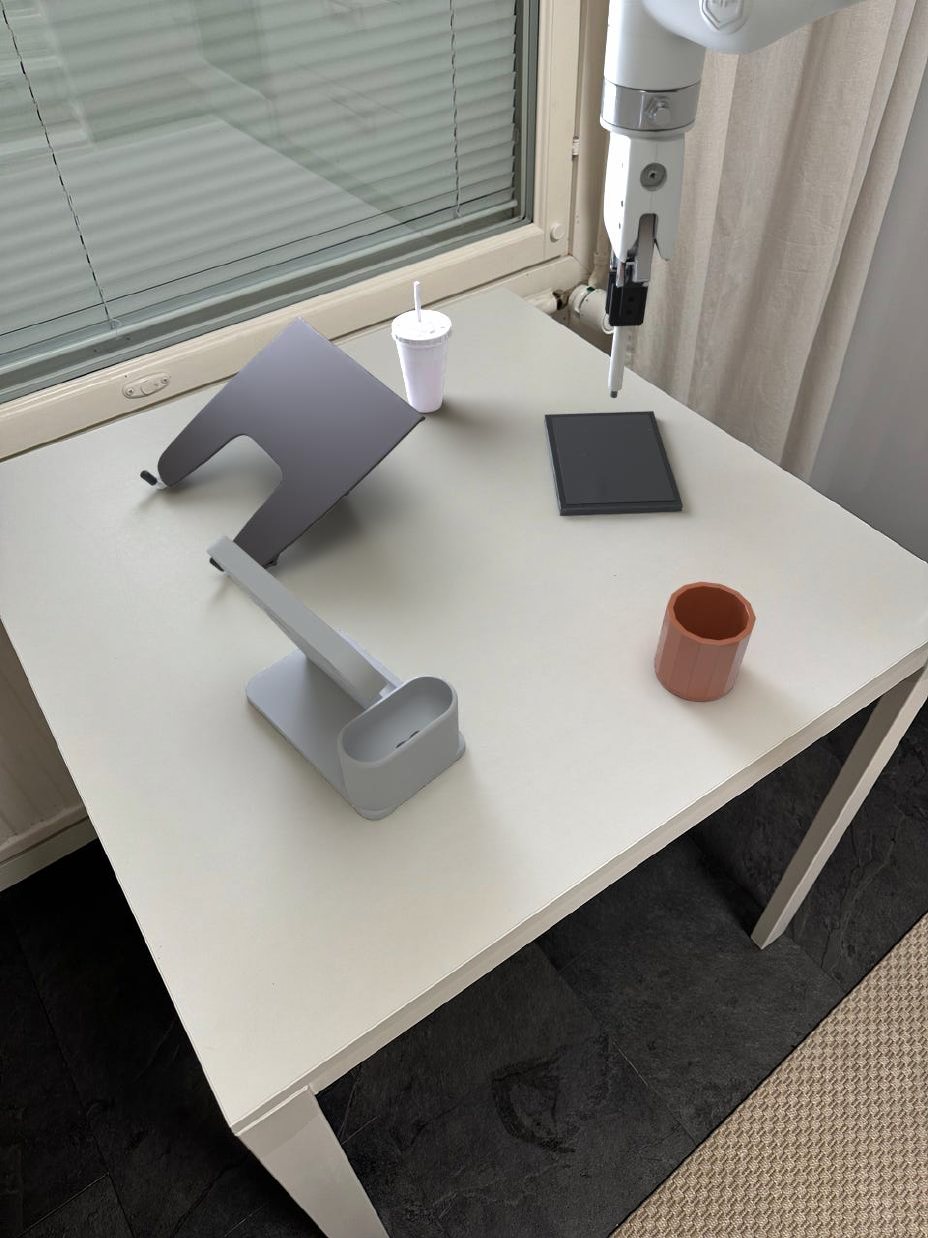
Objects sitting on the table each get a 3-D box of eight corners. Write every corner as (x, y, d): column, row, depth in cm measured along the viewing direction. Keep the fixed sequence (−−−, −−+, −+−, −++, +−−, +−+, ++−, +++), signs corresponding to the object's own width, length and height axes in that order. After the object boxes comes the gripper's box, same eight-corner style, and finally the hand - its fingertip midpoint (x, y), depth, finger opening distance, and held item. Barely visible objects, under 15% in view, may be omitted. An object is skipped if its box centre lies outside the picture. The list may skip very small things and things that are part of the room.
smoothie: (433, 381, 103) (428, 264, 93) (465, 406, 100) (463, 288, 90) (386, 399, 101) (376, 281, 91) (417, 426, 97) (410, 306, 87)
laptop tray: (182, 504, 98) (124, 457, 90) (331, 359, 99) (287, 300, 91) (284, 627, 85) (227, 585, 78) (455, 460, 86) (415, 402, 78)
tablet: (652, 416, 98) (653, 410, 98) (681, 511, 87) (683, 504, 87) (544, 420, 98) (544, 413, 97) (559, 515, 87) (560, 508, 86)
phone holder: (475, 750, 68) (475, 585, 55) (373, 832, 64) (347, 672, 51) (336, 629, 77) (308, 461, 64) (238, 693, 72) (185, 526, 59)
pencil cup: (724, 638, 76) (742, 579, 71) (744, 701, 71) (765, 643, 66) (647, 640, 76) (660, 582, 71) (662, 704, 71) (677, 646, 66)
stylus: (619, 392, 90) (636, 256, 80) (621, 399, 89) (638, 263, 79) (605, 392, 90) (620, 257, 80) (607, 400, 89) (623, 264, 79)
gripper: (719, 135, 65) (680, 361, 78) (676, 70, 76) (648, 278, 89) (617, 139, 65) (595, 364, 78) (588, 73, 76) (573, 281, 89)
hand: (623, 317), depth 84 cm, fingers closed on stylus, 1 cm apart
